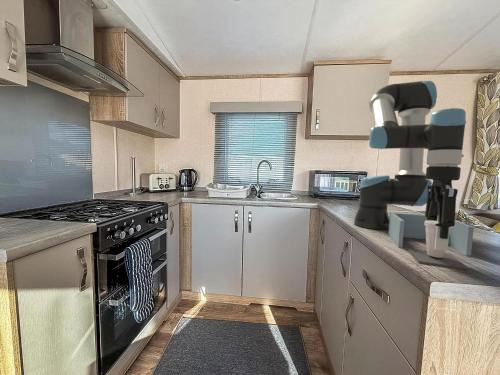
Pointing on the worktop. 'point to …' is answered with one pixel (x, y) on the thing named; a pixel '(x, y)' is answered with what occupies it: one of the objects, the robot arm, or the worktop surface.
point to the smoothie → (432, 239)
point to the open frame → (415, 228)
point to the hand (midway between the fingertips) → (436, 245)
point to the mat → (437, 259)
